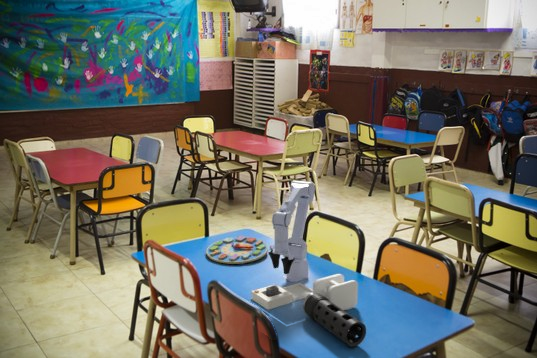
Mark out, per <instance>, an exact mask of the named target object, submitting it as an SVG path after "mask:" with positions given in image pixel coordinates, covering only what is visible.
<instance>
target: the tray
mask: <svg viewBox="0 0 537 358" xmlns="http://www.w3.org/2000/svg"><path fill="white" fill-rule="evenodd" d="M282 288H283V289H284V290H286V291H288V292H289V293H291V294H292V301H294V302H296V301H299V300H303V299H305V298H306V297H307V296H308V295H309V294H311V293H313V288H310V287H309V286H306V285H305V284H303V283H301V282H298V283H295V284H294V283H293V284H291V285H287V286H284V287H282Z"/></svg>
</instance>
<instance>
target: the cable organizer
mask: <svg viewBox="0 0 537 358" xmlns="http://www.w3.org/2000/svg"><path fill="white" fill-rule="evenodd" d="M312 290H313V293H316V294H321V295H323V296H324V297H326V298H327V299H328V300H329V301H330V302H332V303H333V304H335V305H336V306H338V307H339V308H341V309H342V310H344V311H347V310H351V309H353V308H354V307H356V306H357V304H358V296H359V294H358V293H359V282H358V281H356V280H354V279H351V280H348V281H345V275H344V274H341V273H336V274H335V273H334V274H332V275H328V276H324V277H321V278H317V279H316V280H314V281H313V283H312Z"/></svg>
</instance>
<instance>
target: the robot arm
mask: <svg viewBox="0 0 537 358" xmlns="http://www.w3.org/2000/svg"><path fill="white" fill-rule="evenodd" d="M315 187H316V185H315V183H314V181H303V180H296V179H293V180H292V181H291V182H290V191H289V192H290V193H289V196H288V198H287V199H286V200H283V202H282V204H281V206H280V207H279V208H278V210H277V211H274V212H273V214H272V217H271V218H272V219H271V223H272V227H273V228H272V229H273V230H274V244H271V245H269V250H270V251H269V252H267V253H268V256H269V257H270V260H271V263H272V266H273V269H279V266H280V261H281V263H282V267H283V274H284V275H282V278H284V279H286V280H288V281H290V282H292V283H296V282H298V281H302V280H306V279H310V277H309V261H308V260H307V259H308V258H307V255H308V244H307V242H306V241H305V240H304V239H303V237H304V236H303V235H304V232H305V225H306V221H307V215H308V209H309V206H310V203H311V202H313V200H314V197H315V192H316V188H315ZM296 204H297V206H296ZM295 210H296V212H295ZM294 212H295V215H294V216H295V217H294V221H293V227H292V233H291V237H289V227H290V225H291V222H292V221H291V220H292V215H293V214H294ZM281 256H283V257H282V258H281Z"/></svg>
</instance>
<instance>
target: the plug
mask: <svg viewBox="0 0 537 358" xmlns="http://www.w3.org/2000/svg"><path fill="white" fill-rule="evenodd" d="M270 286H271V285H270ZM266 287H267V288H266V296H267V297H272V296H275V295H279V288H278V287H276V286H271V287H268V286H266Z"/></svg>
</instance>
